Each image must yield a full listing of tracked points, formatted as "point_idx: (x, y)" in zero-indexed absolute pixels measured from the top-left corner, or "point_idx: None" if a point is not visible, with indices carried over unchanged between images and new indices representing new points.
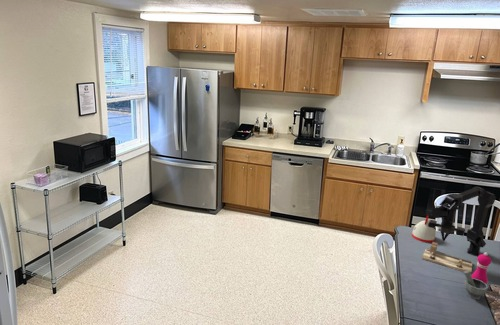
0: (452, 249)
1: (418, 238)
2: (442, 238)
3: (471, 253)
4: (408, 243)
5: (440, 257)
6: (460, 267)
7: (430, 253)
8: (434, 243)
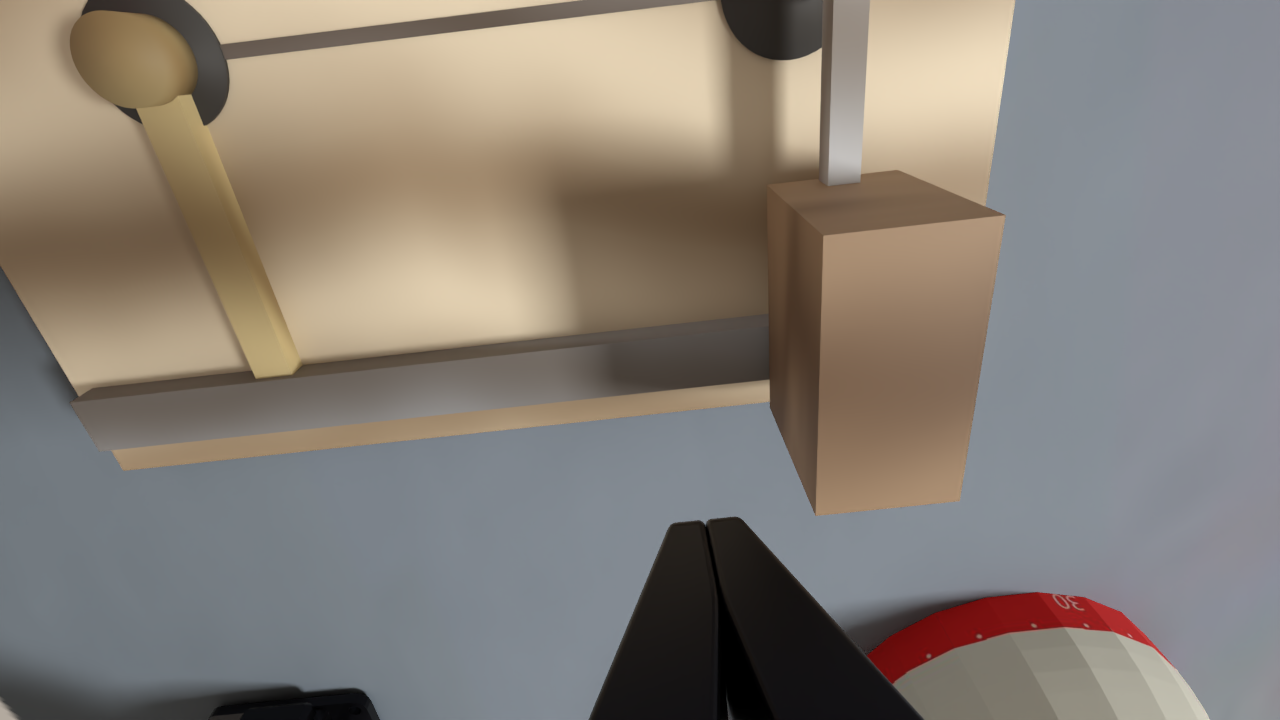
0: (559, 656)
1: (1085, 622)
2: (794, 595)
3: (304, 703)
4: (1253, 388)
5: (631, 188)
6: (100, 2)
7: None
8: (900, 455)
